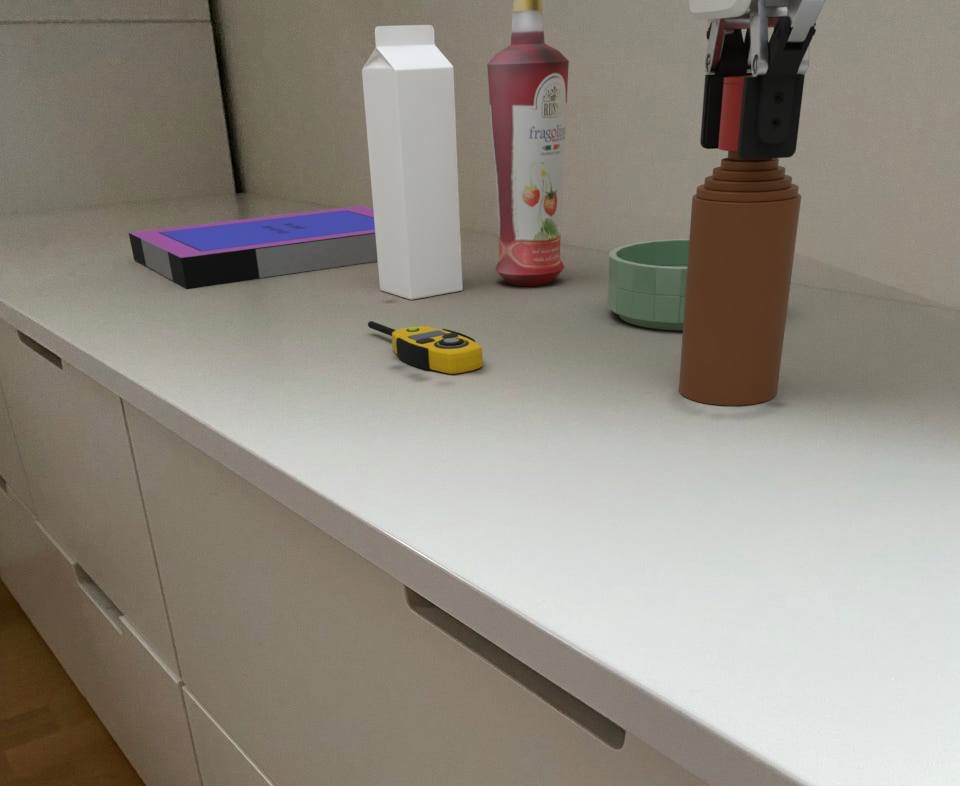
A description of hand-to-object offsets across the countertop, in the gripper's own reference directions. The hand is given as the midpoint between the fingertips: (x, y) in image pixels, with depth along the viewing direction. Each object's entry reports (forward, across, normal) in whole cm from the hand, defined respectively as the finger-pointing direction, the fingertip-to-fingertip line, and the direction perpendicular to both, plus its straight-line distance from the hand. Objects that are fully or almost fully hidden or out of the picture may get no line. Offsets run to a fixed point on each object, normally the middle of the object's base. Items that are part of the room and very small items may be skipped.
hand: (745, 149), depth 58 cm
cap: (0, 0, 0) cm, 0 cm away
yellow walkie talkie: (+15, -15, -20) cm, 29 cm away
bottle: (+15, 0, 0) cm, 15 cm away
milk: (+15, -37, -18) cm, 44 cm away
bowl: (+15, -22, +4) cm, 26 cm away
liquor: (+15, -38, -7) cm, 42 cm away
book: (+15, -61, -32) cm, 71 cm away
